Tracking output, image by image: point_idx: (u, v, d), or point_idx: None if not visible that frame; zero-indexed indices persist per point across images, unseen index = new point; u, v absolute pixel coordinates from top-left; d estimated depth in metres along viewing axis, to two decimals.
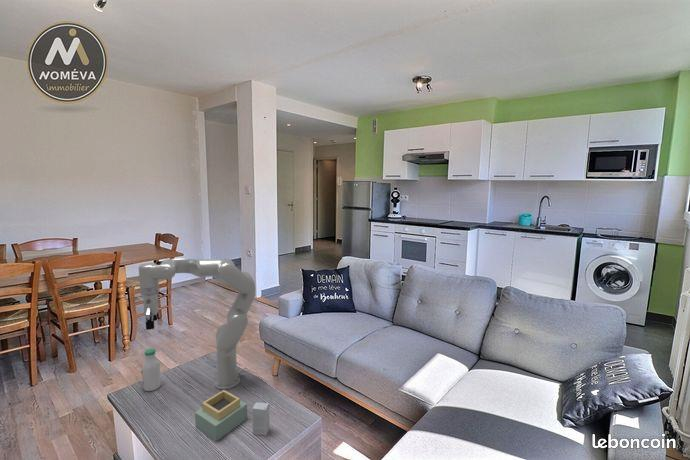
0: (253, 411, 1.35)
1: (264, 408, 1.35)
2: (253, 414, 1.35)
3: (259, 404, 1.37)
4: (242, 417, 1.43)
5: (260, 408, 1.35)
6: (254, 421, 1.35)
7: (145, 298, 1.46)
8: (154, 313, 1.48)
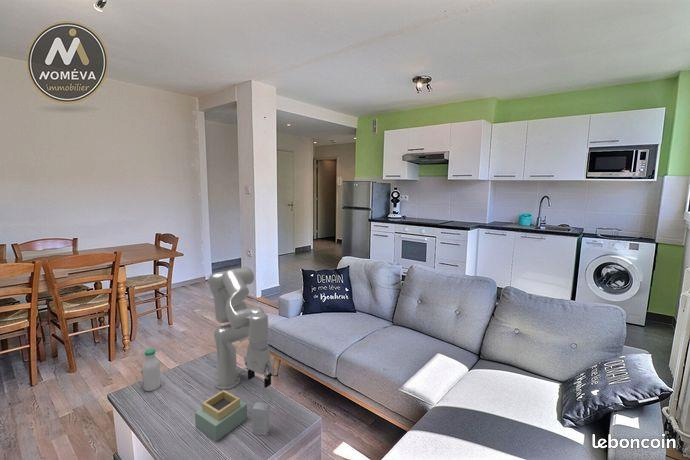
0: (253, 411, 1.35)
1: (264, 408, 1.35)
2: (253, 414, 1.35)
3: (259, 404, 1.37)
4: (242, 417, 1.43)
5: (260, 408, 1.35)
6: (254, 421, 1.35)
7: None
8: None
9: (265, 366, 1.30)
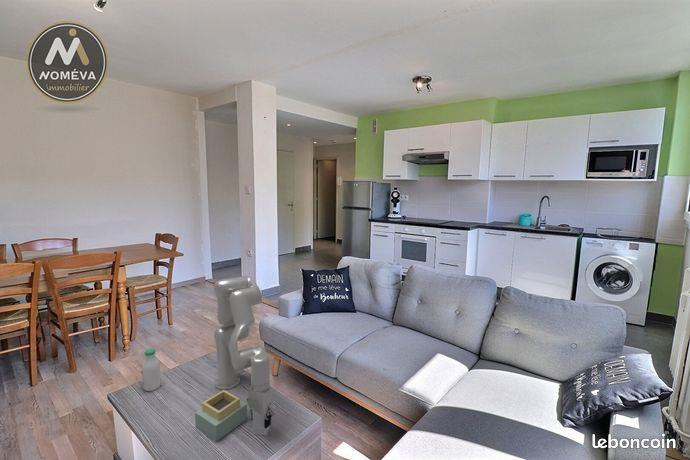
0: (253, 411, 1.35)
1: None
2: (253, 414, 1.35)
3: None
4: (242, 417, 1.43)
5: None
6: (254, 421, 1.35)
7: None
8: None
9: (267, 409, 1.32)
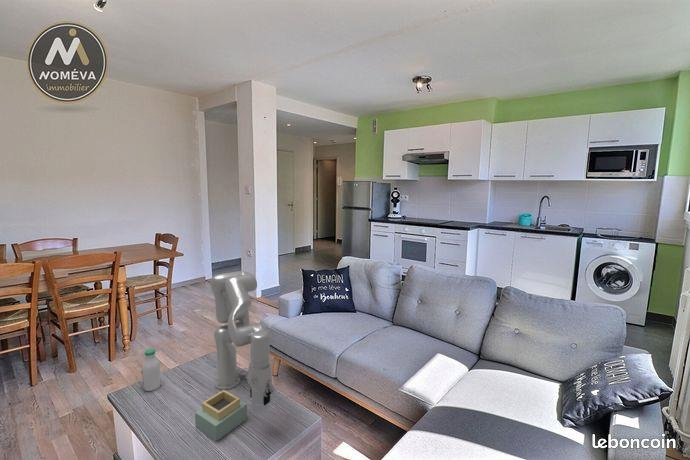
0: (252, 388, 1.34)
1: None
2: (252, 391, 1.34)
3: None
4: (242, 417, 1.43)
5: None
6: (253, 398, 1.34)
7: None
8: None
9: (266, 385, 1.31)
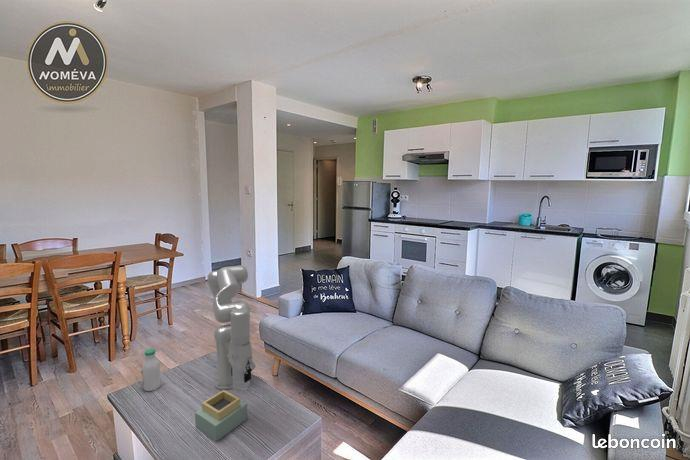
0: (233, 365, 1.34)
1: None
2: (233, 368, 1.35)
3: None
4: (242, 417, 1.43)
5: None
6: (234, 375, 1.35)
7: None
8: None
9: (247, 362, 1.32)
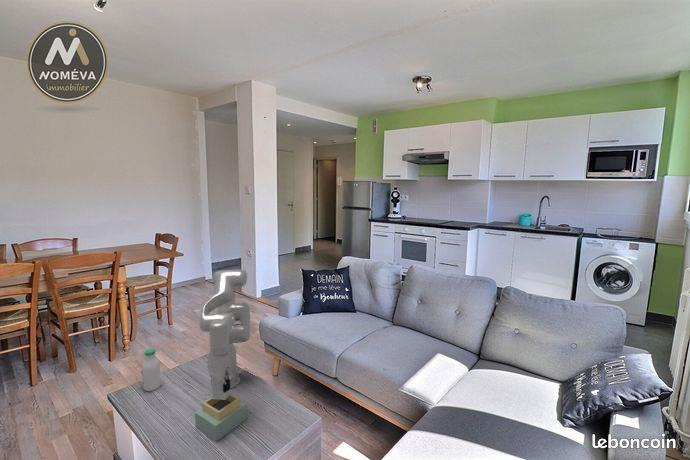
0: (212, 376, 1.37)
1: None
2: (212, 379, 1.38)
3: None
4: (242, 417, 1.43)
5: None
6: (213, 386, 1.38)
7: None
8: None
9: (225, 373, 1.35)
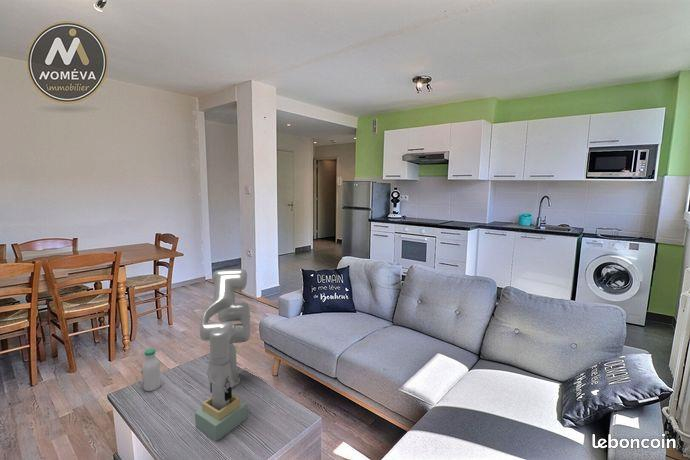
0: (212, 387, 1.39)
1: None
2: (212, 390, 1.39)
3: None
4: (242, 417, 1.43)
5: None
6: (213, 397, 1.39)
7: None
8: None
9: (225, 380, 1.36)
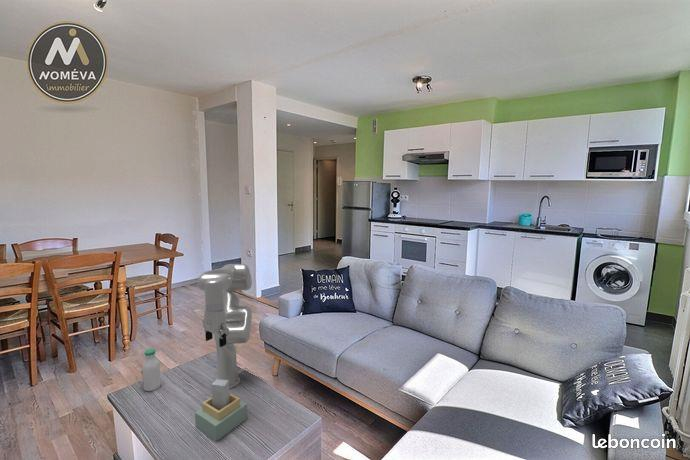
0: (212, 387, 1.38)
1: (223, 384, 1.39)
2: (212, 390, 1.39)
3: (219, 381, 1.41)
4: (242, 417, 1.43)
5: (219, 384, 1.39)
6: (213, 397, 1.39)
7: None
8: None
9: (220, 327, 1.40)
